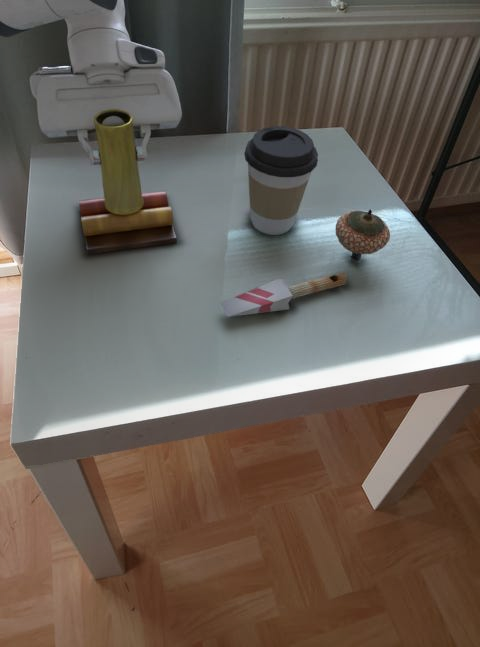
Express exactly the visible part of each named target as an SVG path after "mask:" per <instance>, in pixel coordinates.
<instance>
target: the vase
mask: <svg viewBox="0 0 480 647" xmlns="http://www.w3.org/2000/svg"><path fill="white" fill-rule="evenodd" d="M111 116H117V117H119V118H121V119H122V120H123V121H124V122H125V125H122V126H117V127H109V126H104V125H102V123H103V121H104V120H105V119H106V118H108V117H111ZM94 123H95V130H96V134H95V136H96V140H97V146H98V150H99V154H100V156H99V157H100V160H101V164H100V169H101V170H100V171H101V180H102V181H101V182H102V190H103V198H104V204H105V207H106V209H107V210H108V211H109V212H111V213H113V214H117V215H129V214H133V213H135V212H137V211H139V210H140V209H141V208H142V206H143V204H144V201H143V198H142V193H143V192H142V186H141V177H140V170H139V163H138V162H139V161H137V154H136V141H135V131H133V119H132V116H131V114H129V113H128V112H126V111H123V110H118V109H111V110H105V111H101V112H99V113H98V114H97V115H96V116H95V117H94Z"/></svg>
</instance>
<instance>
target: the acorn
mask: <svg viewBox="0 0 480 647" xmlns="http://www.w3.org/2000/svg"><path fill="white" fill-rule="evenodd" d="M335 236H336V237H337V239H338V242H339V243H340V245H341V246H342V247H343V248H344V249H345V250H347V251H348V252H351V255H350V256H349V257H350V259H351V260H353V261H354V262H360V260H361V257H362V255H373V254H374V253H377V252H379V251H380V250H383V248H385V246H387V244H388V243H389V241H390V238H391V232H390V229H389V227H388V225H387V223H386V221H384V220H383V219H382V218H381V217H380V216H378V215H376V214H373V210H372V209H371V208H370V209H369V210H368V211H363V210H350V211H349V212H346V213H343V214H342V215H341V216H339V218H338V219H337V221H336V224H335Z"/></svg>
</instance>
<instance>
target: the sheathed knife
mask: <svg viewBox="0 0 480 647" xmlns="http://www.w3.org/2000/svg"><path fill="white" fill-rule="evenodd" d="M347 279H348V278H347V276H346V274H345V273H344V272H340V273H337V274H332V275H327V276H323V277H321V278H316V279H313V280H309V281H305V282H301V283H298V284H293V285H289V286H287V285H286V283H285V282H284V281H283V280H282V278H278V279H275V280H273V281H270V282H268V283H265V284H262V285H260V286H258V287H255V288H253V289H251V290H248V291H246V292H243V293H241V294H238V295H235V296H233V297H231V298H228V299H226V300H224V301H221V302H220V303H219V304H220V306H221V307H222V310H223V311H224V312H225V314H226V316H227V317H228V318H229V317H235V316H236V317H238V316H245V315H255V314H261V313H271V312H278V311H287V310H291V309H290V304H289V302H290V301H291V300H292V299H296V298H299V297H303V296H307V295H311V294H314V293H318V292H321V291H325V290H330V289H333V288H337V287H340V286H344V285H346V284H347V281H348V280H347Z"/></svg>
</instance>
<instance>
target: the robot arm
mask: <svg viewBox="0 0 480 647" xmlns="http://www.w3.org/2000/svg"><path fill="white" fill-rule="evenodd" d="M125 17H126V7H125V0H0V37H3V38H11V37H14V36H16V35H19V34H21V33H24V32H26V31H29V30H31V29H32V28H36V27H39V26H42V25H46V24H50V23H54V22H57V21H61V20H64V21H65V22H66V23H65V24H66V26H67V38H66V41H67V49H68V53H69V54H68V55H69V60H70V65H61V66H60V65H59V66H54V67H49V66H42V67H39V68H38V70H36V71H34V72H33V73H31V75H30V76H29V87H30V91H31V92H30V93H31V95H32V96H33V98H34V99H35V100H36V109H37V119H38V125H39V128H40V131H41V132H42V133H43V134H44V135H45V136H46V137H48V138H49V139H50V138H64V137H77V139H78V143H79V145H80V146H81V147H82V149H84V151H85V152H86V153H87V154H88V157H89V161H90V162H89V163H90V166H101V160H100V157H99V156H100V154H99V149H93V147H92V146H91V145H90V144H89V141H90V140H89V135H96V130H95V123H94V117H95V116H96V115H97V114H98V113H99V112H101V111H105V110H111V109H118V110H123V111H126V112H128V113H129V114H131V116H132V119H133V132H139V135H140V138H143V140H142V142H141V145H137V146H136V145H135V147H136V154H137V162H142V161H147V160H148V152H147V146H148V143H149V141H150V138H151V136H152V130H164V129H175V128H177V127H178V126H179V124H180V122H181V120H182V117H183V112H182V106H181V100H180V97H179V93H178V90H177V87H176V83H175V80H174V78H173V76H172V75H171V74H170V73H169V72H168V70H166V58H165V53H164V52H163V51H162V50H160V49H157V48H153V47H151V46H146V45H143V44H140V43H136V42H133V41H131V38H130V35H129V32H128V30H127V27H126V22H125ZM102 125H104V126H109V127H117V126H122V125H125V122H124V121H123V120H122V119H121V118H119V117H117V116H111V117H108V118H106V119H105V120H104V121H103V123H102Z"/></svg>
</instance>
